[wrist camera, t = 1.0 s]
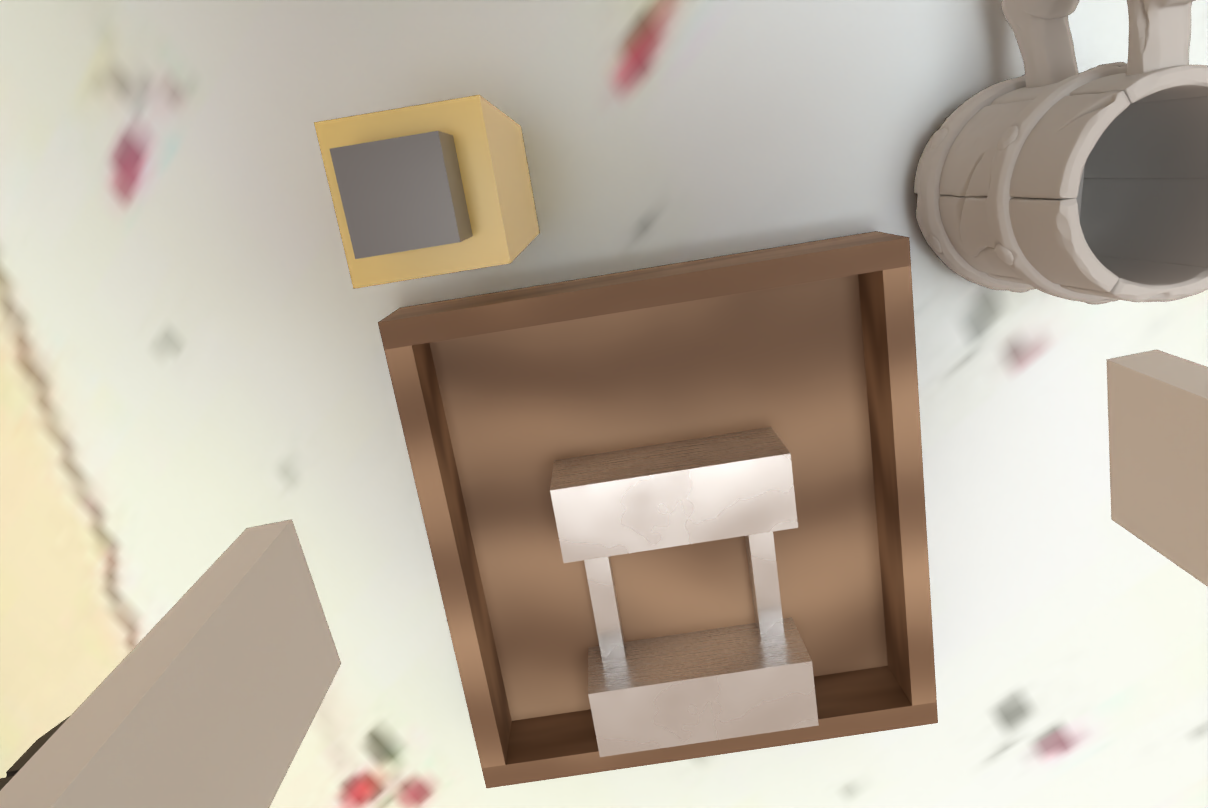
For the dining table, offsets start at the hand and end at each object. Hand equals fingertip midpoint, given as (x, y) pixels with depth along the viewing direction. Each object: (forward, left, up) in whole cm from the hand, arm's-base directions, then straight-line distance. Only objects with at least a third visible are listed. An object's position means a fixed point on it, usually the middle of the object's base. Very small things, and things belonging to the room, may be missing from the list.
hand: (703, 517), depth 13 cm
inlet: (+11, 0, -21) cm, 23 cm away
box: (+8, 0, -21) cm, 22 cm away
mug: (-5, +15, -21) cm, 26 cm away
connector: (-6, -5, -21) cm, 22 cm away
